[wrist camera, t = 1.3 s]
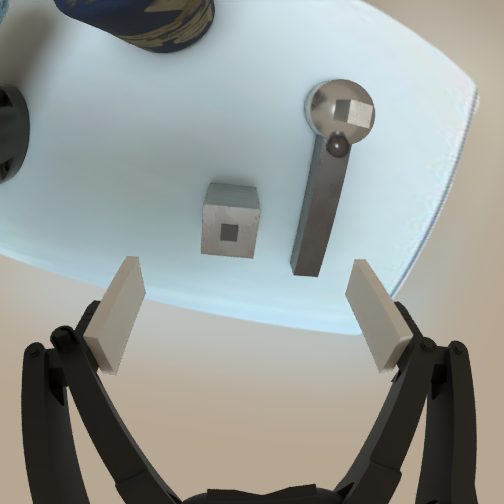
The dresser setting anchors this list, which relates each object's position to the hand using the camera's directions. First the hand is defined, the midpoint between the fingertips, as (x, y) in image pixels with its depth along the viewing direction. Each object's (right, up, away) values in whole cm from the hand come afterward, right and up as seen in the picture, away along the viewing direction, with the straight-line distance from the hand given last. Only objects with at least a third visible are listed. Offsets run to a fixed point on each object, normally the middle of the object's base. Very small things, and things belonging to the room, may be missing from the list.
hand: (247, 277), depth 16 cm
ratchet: (+8, +10, +15) cm, 20 cm away
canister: (-8, +27, +4) cm, 28 cm away
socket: (-2, +7, +16) cm, 17 cm away
